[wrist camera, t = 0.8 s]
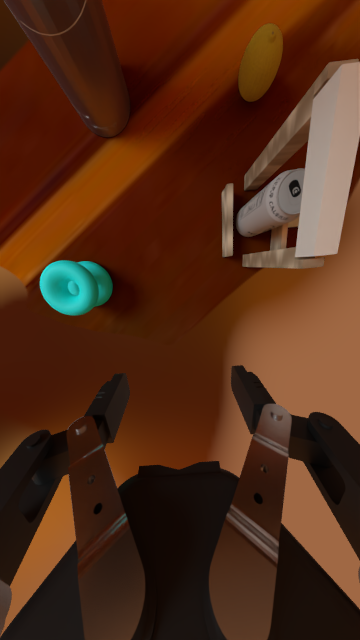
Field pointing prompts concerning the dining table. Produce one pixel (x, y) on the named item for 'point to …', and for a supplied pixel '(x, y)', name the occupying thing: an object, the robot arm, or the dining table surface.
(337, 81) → the bar
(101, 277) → the donuts
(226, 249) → the cradle
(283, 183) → the energy drink can
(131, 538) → the robot arm
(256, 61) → the lemon
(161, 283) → the dining table surface
